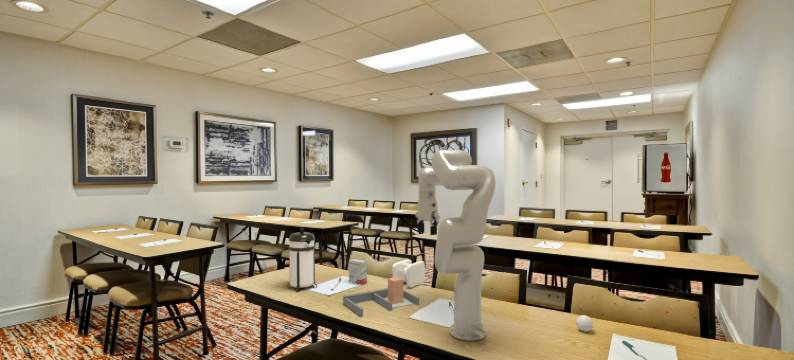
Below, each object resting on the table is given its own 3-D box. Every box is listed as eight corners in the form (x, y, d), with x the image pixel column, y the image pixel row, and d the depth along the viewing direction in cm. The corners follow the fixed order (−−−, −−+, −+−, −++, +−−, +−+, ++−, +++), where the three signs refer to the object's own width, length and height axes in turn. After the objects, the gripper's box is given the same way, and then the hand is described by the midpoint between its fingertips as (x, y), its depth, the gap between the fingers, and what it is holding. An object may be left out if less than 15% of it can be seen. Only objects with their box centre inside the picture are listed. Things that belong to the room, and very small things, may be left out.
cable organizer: (408, 290, 189) (408, 266, 189) (391, 286, 196) (391, 263, 195) (425, 283, 201) (425, 260, 201) (408, 279, 208) (408, 258, 207)
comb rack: (419, 304, 168) (419, 296, 168) (360, 316, 154) (360, 308, 154) (398, 293, 184) (398, 286, 184) (343, 303, 170) (343, 295, 170)
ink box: (367, 282, 201) (367, 260, 201) (361, 285, 197) (361, 262, 197) (354, 280, 206) (354, 258, 206) (348, 282, 202) (348, 260, 202)
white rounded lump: (578, 326, 144) (578, 311, 144) (594, 330, 140) (595, 315, 140) (572, 333, 138) (572, 317, 138) (589, 337, 134) (589, 321, 134)
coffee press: (322, 283, 201) (321, 225, 200) (311, 292, 185) (310, 230, 185) (290, 281, 204) (290, 225, 203) (276, 291, 188) (276, 229, 187)
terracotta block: (403, 302, 171) (403, 279, 170) (393, 304, 168) (393, 281, 168) (397, 298, 175) (397, 276, 175) (387, 300, 172) (387, 278, 172)
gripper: (445, 196, 169) (445, 235, 169) (422, 194, 184) (422, 230, 184) (431, 196, 165) (431, 236, 165) (409, 195, 180) (409, 231, 180)
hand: (427, 233), depth 175 cm, fingers open, 9 cm apart
